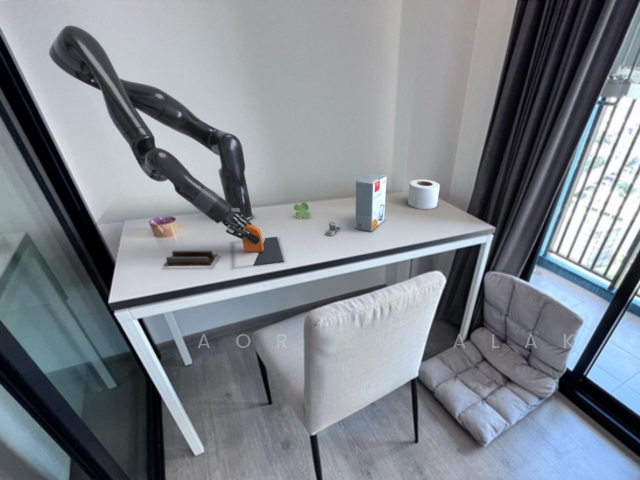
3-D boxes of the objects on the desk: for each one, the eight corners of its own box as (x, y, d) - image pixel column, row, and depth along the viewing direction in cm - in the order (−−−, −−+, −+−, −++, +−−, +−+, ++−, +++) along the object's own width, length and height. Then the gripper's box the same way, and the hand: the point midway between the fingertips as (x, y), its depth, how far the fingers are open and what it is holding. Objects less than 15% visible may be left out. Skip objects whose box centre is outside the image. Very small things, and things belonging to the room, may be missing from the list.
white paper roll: (422, 211, 162) (425, 189, 156) (401, 202, 171) (403, 181, 165) (442, 205, 171) (446, 185, 165) (422, 197, 180) (424, 177, 174)
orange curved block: (244, 251, 112) (239, 227, 107) (246, 248, 114) (241, 224, 109) (262, 251, 113) (258, 227, 108) (264, 248, 115) (259, 224, 110)
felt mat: (231, 242, 120) (231, 241, 120) (277, 238, 126) (276, 236, 125) (232, 268, 105) (232, 266, 105) (283, 261, 111) (283, 260, 111)
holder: (163, 268, 102) (160, 260, 101) (174, 256, 109) (171, 248, 107) (211, 268, 104) (208, 260, 103) (218, 256, 111) (216, 248, 109)
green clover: (304, 225, 150) (304, 222, 143) (290, 213, 147) (289, 210, 141) (314, 213, 151) (315, 210, 144) (300, 201, 148) (300, 198, 142)
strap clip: (331, 236, 131) (331, 226, 128) (324, 235, 131) (324, 225, 129) (340, 228, 137) (340, 219, 135) (333, 227, 138) (333, 218, 135)
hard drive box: (371, 232, 136) (372, 184, 125) (355, 229, 138) (354, 181, 127) (384, 220, 149) (386, 175, 137) (369, 217, 150) (370, 172, 139)
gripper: (212, 205, 110) (256, 239, 119) (197, 221, 99) (247, 256, 108) (225, 190, 108) (269, 225, 117) (211, 204, 96) (261, 242, 105)
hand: (258, 240), depth 112 cm, fingers closed on orange curved block, 2 cm apart
